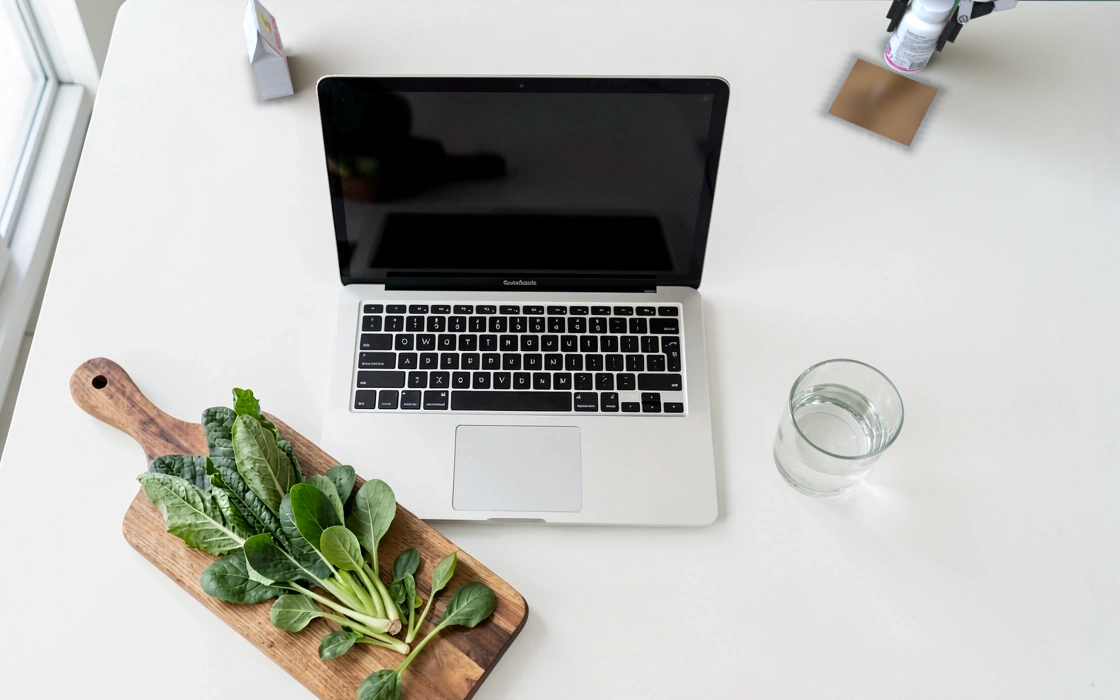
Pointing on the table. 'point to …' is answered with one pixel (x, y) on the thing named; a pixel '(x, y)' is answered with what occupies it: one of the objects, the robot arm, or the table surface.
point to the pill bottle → (917, 34)
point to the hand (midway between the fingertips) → (918, 32)
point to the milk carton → (266, 52)
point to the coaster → (882, 101)
